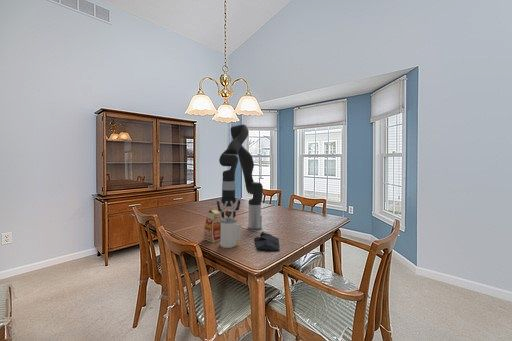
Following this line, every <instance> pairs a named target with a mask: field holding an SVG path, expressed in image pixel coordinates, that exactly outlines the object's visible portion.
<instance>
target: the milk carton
mask: <svg viewBox="0 0 512 341" xmlns="http://www.w3.org/2000/svg"><path fill="white" fill-rule="evenodd" d="M220 219H221V212H220V211H219V210H218V208H211V207H210V208H209V210H208V212H207V216H206V218H205V224H204V230H203V237H202V240H204V241H206V240H207V241H206V242H209V241H210V243H216V241H217V242H218V241H219V242H220Z"/></svg>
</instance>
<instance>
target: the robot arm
mask: <svg viewBox="0 0 512 341" xmlns="http://www.w3.org/2000/svg"><path fill="white" fill-rule="evenodd" d="M230 134H231V138H232V140H231V141H230V142H229V144H228V145H227V148H226V149H225V150H224V151H223V152H222V153H221V155H220V156H219V159H218V162H219V165H221V167H230V168H229V169H228V170H227V169H226V170H224V171H223V172H222V181H221V182H222V183H221V199H220V200H218V199H217V200H216V205H217V211H218V212H220V217H221V218H225V209H226V208H227V207H231V209H232V218H236V215H237V214H236V212H238V211H239V210H240V207H241V200H240V199H237V198H236V169H237V166H238V163H239V164H240V167H241V171H242V174H243V178H244V183H245V184H244V185H245V189H246V192H247V193H248V194H249V195H252V198H251V199H249V200H248V208H247V209H248V217H247V218H248V219H247V223H248V224H247V227H248V229H250V230H251V229H252V230H260V229H262V226H263V225H262V221H263V220H262V218H263V216H262V202H263V192H264V188H263V183H261V182H257V181H254V178H253V172H254V167H255V163H254V159H253V156H252V154H251V152H249V151H248V149H247V148H246V147H245V146H244V145H243V144H244V142H245V141H246V139H248V137H249V128H248V126H247V125H246V124H243V123H242V124H238V125H232V126H231V127H230ZM221 203H222V207H221V205H220V204H221ZM235 203H236V207H235V205H234V204H235Z"/></svg>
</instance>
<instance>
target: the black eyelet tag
mask: <svg viewBox="0 0 512 341" xmlns="http://www.w3.org/2000/svg"><path fill="white" fill-rule="evenodd" d="M254 244H255V246H256V249H258V250H259V251H260V250H261V251H270V252H280V251H281V249H280V240H279V238H278V237H276V236H274V235H273V234H270V233H268V232H264V231H261V232H260V235H259V236H257V237H254Z"/></svg>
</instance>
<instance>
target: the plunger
mask: <svg viewBox="0 0 512 341" xmlns="http://www.w3.org/2000/svg"><path fill="white" fill-rule="evenodd" d="M232 215H233V212H232V211H231V210H230V209H229V210H226V211H225V212H224V216H226V218H228V220H229V218H230V217H231V216H232Z"/></svg>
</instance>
